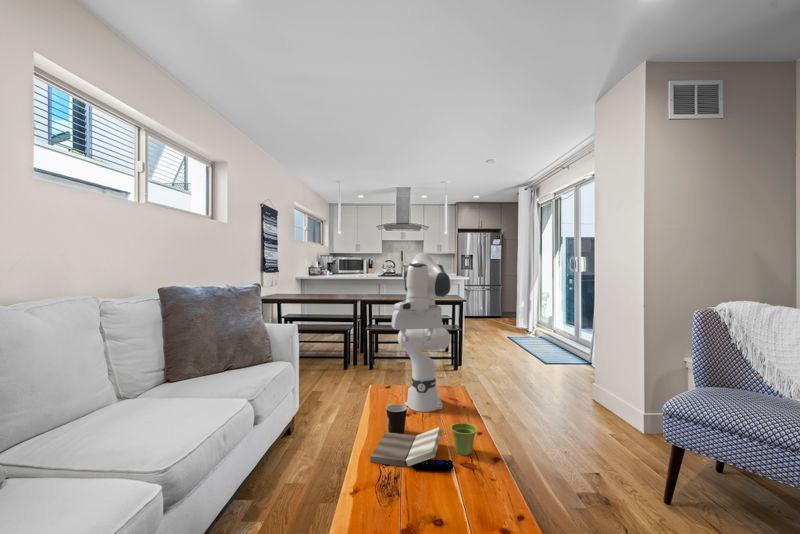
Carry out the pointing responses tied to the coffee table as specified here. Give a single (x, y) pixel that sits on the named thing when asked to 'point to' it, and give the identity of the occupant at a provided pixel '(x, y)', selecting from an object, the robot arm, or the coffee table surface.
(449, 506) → the coffee table surface
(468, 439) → the plant pot
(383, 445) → the grey brown flat block
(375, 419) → the coffee table surface
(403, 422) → the coffee mug
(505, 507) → the coffee table surface
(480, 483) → the coffee table surface
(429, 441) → the ash plank
